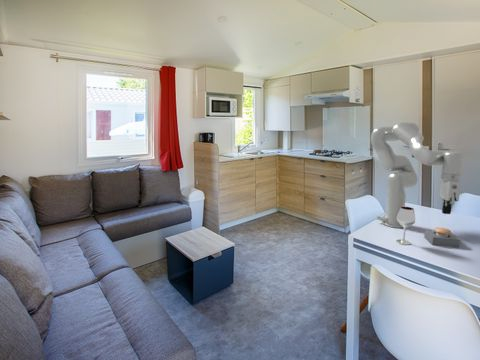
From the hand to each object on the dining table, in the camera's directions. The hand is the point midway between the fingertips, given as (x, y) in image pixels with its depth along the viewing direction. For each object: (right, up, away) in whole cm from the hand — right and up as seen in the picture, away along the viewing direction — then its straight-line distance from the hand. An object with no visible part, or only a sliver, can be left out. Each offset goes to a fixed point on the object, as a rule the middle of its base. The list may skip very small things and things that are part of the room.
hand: (446, 213), depth 147 cm
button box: (0, -15, +3) cm, 15 cm away
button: (0, -13, +3) cm, 14 cm away
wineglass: (-20, -15, +3) cm, 25 cm away
